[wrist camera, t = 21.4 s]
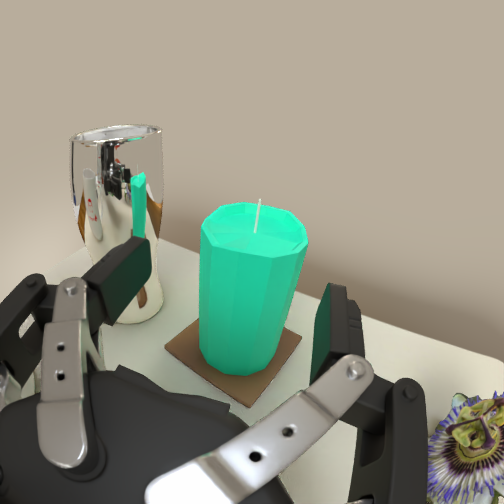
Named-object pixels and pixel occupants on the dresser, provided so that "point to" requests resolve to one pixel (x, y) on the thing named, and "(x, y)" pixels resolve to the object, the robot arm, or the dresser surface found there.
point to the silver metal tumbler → (120, 198)
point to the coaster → (233, 385)
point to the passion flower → (468, 453)
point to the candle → (247, 283)
